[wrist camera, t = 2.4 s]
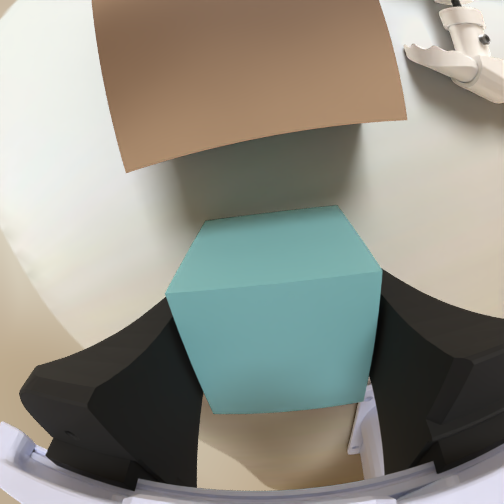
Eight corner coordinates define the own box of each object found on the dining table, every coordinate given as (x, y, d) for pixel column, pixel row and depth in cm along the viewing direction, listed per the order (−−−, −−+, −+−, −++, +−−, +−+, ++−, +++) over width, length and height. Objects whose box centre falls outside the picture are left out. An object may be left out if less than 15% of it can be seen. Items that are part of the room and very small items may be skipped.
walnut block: (359, 117, 9) (407, 119, 6) (173, 152, 10) (125, 173, 7) (315, -40, 6) (334, -94, 3) (139, -2, 7) (89, -37, 4)
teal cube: (338, 312, 13) (363, 401, 8) (229, 323, 13) (213, 414, 9) (337, 205, 11) (382, 270, 6) (205, 220, 11) (165, 293, 7)
